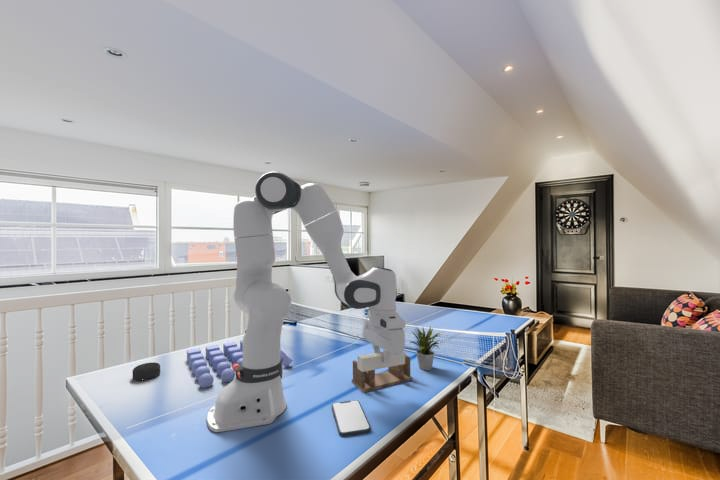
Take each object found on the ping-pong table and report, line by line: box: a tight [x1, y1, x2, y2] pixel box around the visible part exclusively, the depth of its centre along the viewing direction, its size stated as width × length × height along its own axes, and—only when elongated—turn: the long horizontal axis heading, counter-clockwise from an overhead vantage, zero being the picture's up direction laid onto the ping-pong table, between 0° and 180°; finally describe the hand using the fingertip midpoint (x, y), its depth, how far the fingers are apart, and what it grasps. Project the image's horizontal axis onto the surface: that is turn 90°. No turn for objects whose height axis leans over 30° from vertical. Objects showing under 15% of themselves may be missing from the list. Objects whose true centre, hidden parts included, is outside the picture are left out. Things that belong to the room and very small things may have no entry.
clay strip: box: [356, 350, 406, 372], centre depth 106 cm, size 16×3×4 cm, turn 118°
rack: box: [351, 354, 413, 393], centre depth 119 cm, size 20×9×8 cm, turn 118°
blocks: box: [186, 339, 293, 389], centre depth 137 cm, size 35×34×5 cm
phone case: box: [331, 399, 372, 438], centre depth 95 cm, size 9×2×16 cm
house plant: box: [409, 325, 443, 371], centre depth 130 cm, size 14×14×16 cm
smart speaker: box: [132, 361, 161, 381], centre depth 125 cm, size 9×9×4 cm
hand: (381, 360), depth 106 cm, fingers closed on clay strip, 3 cm apart
